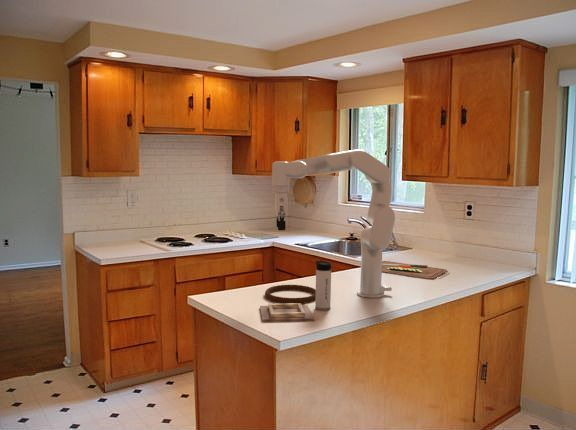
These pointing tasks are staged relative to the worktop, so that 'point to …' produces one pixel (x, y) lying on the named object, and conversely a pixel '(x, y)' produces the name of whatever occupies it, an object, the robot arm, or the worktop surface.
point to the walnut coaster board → (286, 312)
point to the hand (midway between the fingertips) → (280, 228)
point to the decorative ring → (290, 300)
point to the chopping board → (413, 270)
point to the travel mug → (323, 285)
